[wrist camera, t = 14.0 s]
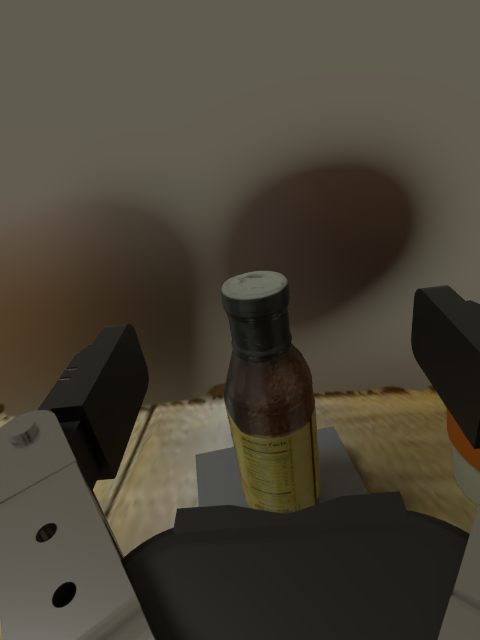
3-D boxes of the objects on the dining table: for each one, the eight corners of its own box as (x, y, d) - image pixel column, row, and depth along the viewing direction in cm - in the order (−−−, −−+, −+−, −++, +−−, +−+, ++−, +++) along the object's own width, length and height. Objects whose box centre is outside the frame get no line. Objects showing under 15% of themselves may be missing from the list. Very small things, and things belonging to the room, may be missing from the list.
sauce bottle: (272, 460, 36) (248, 256, 27) (334, 490, 33) (330, 266, 24) (228, 513, 32) (182, 291, 23) (294, 555, 28) (270, 310, 19)
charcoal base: (333, 455, 41) (333, 426, 39) (403, 597, 29) (407, 564, 27) (202, 483, 40) (195, 454, 38) (215, 643, 28) (206, 612, 26)
